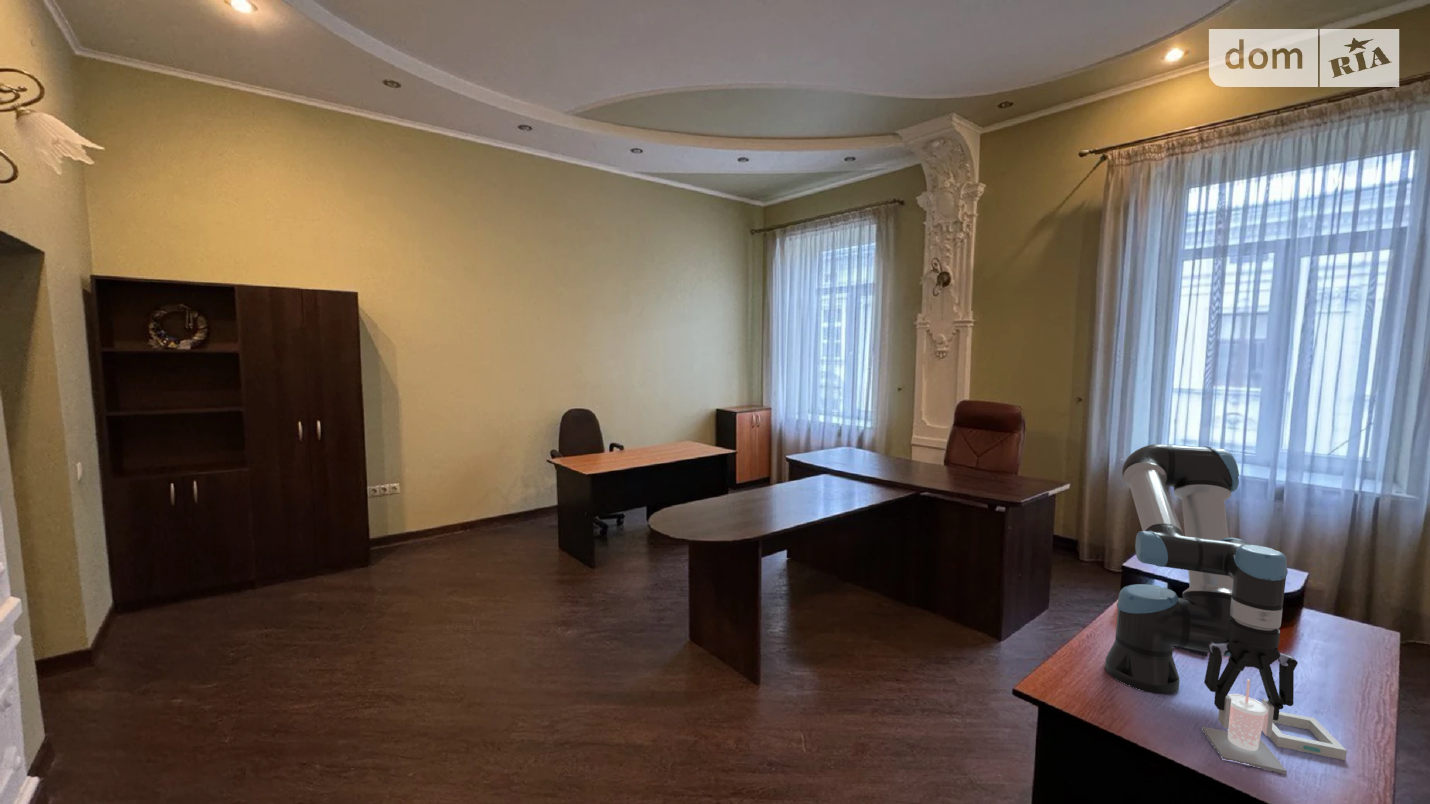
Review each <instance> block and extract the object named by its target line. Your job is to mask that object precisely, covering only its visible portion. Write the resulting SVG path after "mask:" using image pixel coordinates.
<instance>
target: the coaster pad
mask: <svg viewBox="0 0 1430 804" xmlns="http://www.w3.org/2000/svg"><path fill="white" fill-rule="evenodd" d="M1202 729H1203V731H1204V732H1203V731H1202V732H1203V734H1204V733H1205V734H1206V735H1205V734H1204V735H1205V736H1207V737H1208V738H1207V737H1206V738H1207V740H1208V739H1209V740H1210V741H1209V740H1208V741H1209V743H1210V742H1211V743H1212V744H1213V746H1214V747H1215V749H1216V750H1217V751H1218V752H1219V754H1220V755H1221V756H1222V758H1223V759H1226V760H1233V761H1237V762H1240V763H1246V764H1249V765H1252V766H1255V767H1260V768H1263V769H1266V770H1265V771H1268V770H1270V771H1269V772H1272V771H1274V772H1273V773H1278V774H1281V773H1282V774H1283V775H1286V776H1287V772H1288V770H1287V769H1286V768H1285V766H1283V764H1282V763H1281V761H1279V759H1278V758H1277V757H1276V755H1275V754H1274V753H1273V751H1272V750H1271V749H1270V748H1269V746H1267V744H1266V743H1265V742H1264V741H1263V739H1262V738H1261V737H1260V741H1259V746H1258V749H1257V750H1256V751H1250V750H1245V749H1242V748H1240V747H1238V746H1236V745H1234V744H1233V743H1231V742H1230V741H1229V739H1228V730H1223V729H1217V728H1212V727H1207V726H1204V725H1203V726H1201V730H1202ZM1211 743H1210V744H1211ZM1212 744H1211V745H1212ZM1213 746H1212V747H1213ZM1214 747H1213V748H1214ZM1215 749H1214V750H1215ZM1216 750H1215V751H1216ZM1263 769H1262V770H1263ZM1282 774H1281V775H1282Z"/></svg>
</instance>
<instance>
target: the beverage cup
mask: <svg viewBox="0 0 1430 804" xmlns="http://www.w3.org/2000/svg"><path fill="white" fill-rule="evenodd" d="M1250 686H1251V679H1249V678H1247V680H1246V689H1245V695H1243V694H1240V693H1228V696H1229V697H1230V698H1231V707H1230V718H1229V728H1227V731H1228V739H1229V741H1230V742H1231V743H1233V744H1234V745H1236V746H1238V747H1240V748H1242V749H1245V750H1250V751H1256V750H1257V749H1258V746H1259V741H1260V738H1261V736H1262V732H1263V731H1262V726H1263V721H1264V716H1265V715H1266V713H1267V708H1266V706H1265V705H1264V704H1262V701H1258V700H1257V699H1255V698H1253V697H1250V689H1251V687H1250Z"/></svg>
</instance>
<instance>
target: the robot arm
mask: <svg viewBox="0 0 1430 804" xmlns="http://www.w3.org/2000/svg"><path fill="white" fill-rule="evenodd" d="M1121 470H1122V472H1121V475H1122V479H1123V482H1124V484H1125V486H1127V488H1129V489H1130V490H1131V496H1132V499H1133V502H1134V506H1135V509H1136V510H1135V511H1136V514H1137V516H1138V519H1139V523H1140V527H1141V531H1138V532H1137V533H1136V536H1135V543H1134V544H1135V546H1134V547H1135V555H1136V556H1135V557H1136V559H1137V560H1138V561H1139V562H1140V563H1143V564H1147V565H1150V566H1151V565H1152V566H1156V567H1158V568H1170V569H1176V570H1177V569H1178V570H1185V571H1187V573H1188V583H1189V584H1188V585H1189V587H1188V588H1186V589H1185V590H1184V591H1183V592H1182V597H1178V595H1177V593H1176V592H1175V591H1173V590H1172V589H1170V588H1168V587H1162V586H1160V585H1156V584H1144V583H1141V584H1140V583H1139V584H1138V583H1137V584H1130V585H1126V586H1124V587H1123V588H1121V590H1120V591H1119V594H1118V599H1117V603H1116V608H1117V611H1116V612H1117V613H1116V615H1117V616H1116V624H1115V625H1116V627H1115V638H1114V639H1115V640H1114V642H1113V644H1112V645H1111V647H1110V649H1109V651H1108V653H1107V655H1106V656H1105V663H1104V664H1105V665H1104V668H1106V669H1105V670H1107V671H1106V672H1107V673H1108V675H1110V676H1111V675H1112V676H1113V677H1114V678H1113V677H1112V676H1111V677H1112V678H1113V679H1115V678H1116V679H1117V680H1116V679H1115V680H1116V681H1118V680H1119V681H1118V682H1120V681H1121V682H1123V683H1125V684H1127V685H1126V686H1128V685H1130V686H1131V688H1133V687H1134V688H1133V689H1135V688H1137V689H1136V690H1138V689H1140V690H1139V691H1141V690H1142V691H1143V692H1145V693H1149V692H1151V694H1155V695H1171V694H1175V693H1177V692H1178V691H1179V688H1180V682H1181V681H1180V676H1179V673H1178V669H1177V666H1176V664H1175V659H1174V657H1173V654H1174V653H1173V652H1174V647H1173V646H1180V647H1184V648H1189V649H1194V650H1199V651H1205V652H1208V653H1209V655H1208V661H1207V667H1206V672H1205V676H1204V685H1205V686H1206V687H1207V689H1208V690H1209V691H1210V692H1212V693H1214V702H1213V703H1214V707H1216V708H1217V710H1218V714H1217V715H1218V716H1217V720H1218V722H1220V725H1222V727H1223V728H1225V729H1228V728H1229V718H1230V707H1231V698H1230V697H1229V696H1228V694H1229V692H1230V691H1231V689H1232V687H1233V685H1234V684H1235V682H1236V680H1237V678H1238V677H1239V675H1240V673H1241V672H1243V671H1244V670H1245V668H1255V669H1258V672H1259V675H1260V678H1261V681H1262V685H1263V687H1264V690H1265V693H1266V697H1267V698H1261V703H1262V704H1264V705H1265V706H1266V708H1267V713H1266V715H1265V716H1264V721H1263V726H1262V731H1261V732H1262V733H1263V734H1264V735H1265V736H1266V737H1268V738H1270V737H1271V733H1272V723H1273V720H1276V721H1277V720H1278V719H1279V712H1280V710H1283V709H1284V706H1288V707H1293V705H1294V693H1295V692H1294V691H1295V690H1294V687H1295V686H1294V682H1295V681H1294V677H1295V675H1294V674H1295V673H1294V672H1295V669H1296V667H1297V666H1298V664H1299V662H1298V661H1297V660H1296V658H1294V657H1293V656H1292V655H1290V654H1289V653H1282V652H1280V651H1279V648H1278V647H1279V645H1280V638H1281V630H1280V628H1281V625H1282V618H1283V607H1284V597H1285V589H1286V579H1287V576H1288V572H1289V571H1288V567H1287V566H1288V564H1287V561H1288V559H1287V555H1286V554H1285V553H1283V552H1281V551H1279V550H1275V549H1274V548H1271V547H1267V546H1264V545H1263V546H1262V545H1256V544H1251V543H1248V542H1247V541H1245V540H1243V539H1240V538H1236V537H1230V535H1229V529H1228V520H1227V512H1226V504H1225V501H1226V500H1229V498H1230V497H1231V496H1232V493H1233V492H1235V491H1237V490H1238V487H1239V484H1240V479H1239V476H1240V472H1239V467H1238V464H1237V461H1236V459H1235V457H1234V456H1233V454H1232V453H1231V452H1229V451H1228V450H1227V449H1223V448H1217V447H1212V446H1193V445H1192V446H1191V445H1175V444H1165V443H1163V444H1162V443H1155V444H1149V445H1145V446H1143V447H1140V448H1138V449H1136V450H1135V451H1133V452H1132V453H1131V454H1130V455H1128V457H1126V460H1125V461H1124V463H1123V465H1122V469H1121ZM1167 487H1172V488H1173V492H1174V493H1173V494H1174V495H1175V497H1176V498H1178V499H1180V500H1181V502H1182V503H1181V504H1182V505H1181V506H1182V514H1183V525H1184V532H1183V529H1182V527H1181V524H1180V521H1179V519H1178V516H1177V514H1176V510H1175V508H1174V505H1173V502H1172V499H1171V497H1170V494H1169V491H1168V488H1167ZM1223 657H1228V659H1227V664H1226V666H1225V667H1224V668H1223V671H1222V673H1220V672H1221V668H1222V663H1223ZM1276 661H1278V663H1279V664H1278V689H1277V685H1276V683H1275V680H1274V676H1273V675H1274V674H1273V670H1272V667H1271V665H1272V664H1273V663H1275V662H1276ZM1220 674H1221V675H1220ZM1121 682H1120V683H1121ZM1123 683H1122V684H1123ZM1125 684H1124V685H1125ZM1130 686H1129V687H1130Z"/></svg>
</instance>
